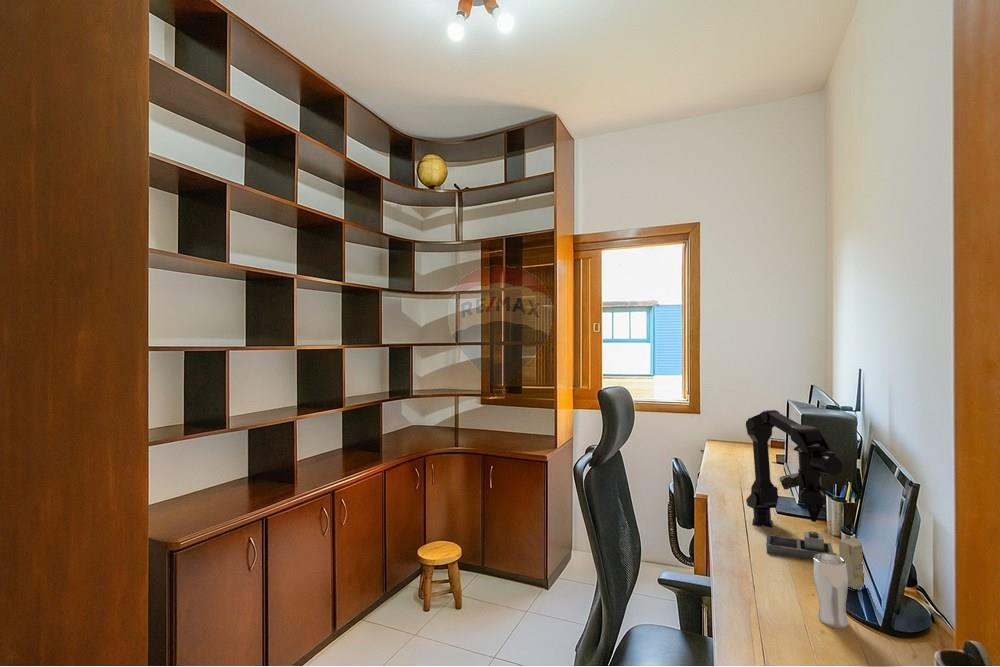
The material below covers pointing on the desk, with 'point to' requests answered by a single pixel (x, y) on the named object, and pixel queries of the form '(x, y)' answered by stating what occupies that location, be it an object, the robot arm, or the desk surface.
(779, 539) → the two-cubby grey shelf
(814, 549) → the knobbed drawer box
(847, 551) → the skincare box
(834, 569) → the beer glass
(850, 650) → the desk surface
